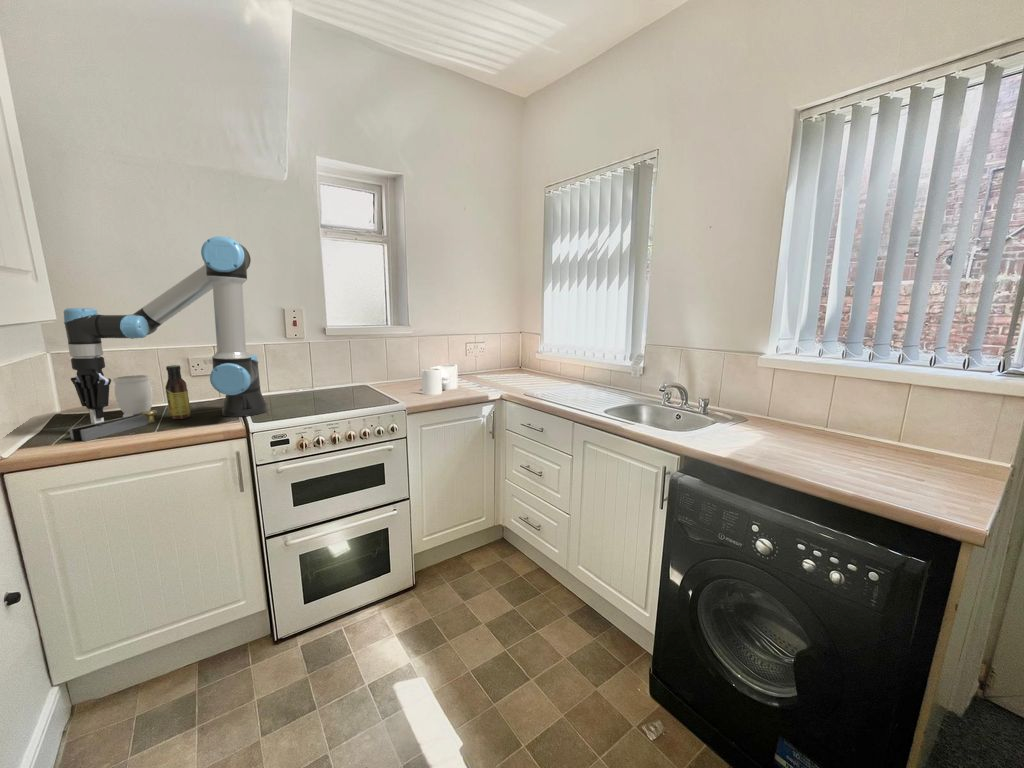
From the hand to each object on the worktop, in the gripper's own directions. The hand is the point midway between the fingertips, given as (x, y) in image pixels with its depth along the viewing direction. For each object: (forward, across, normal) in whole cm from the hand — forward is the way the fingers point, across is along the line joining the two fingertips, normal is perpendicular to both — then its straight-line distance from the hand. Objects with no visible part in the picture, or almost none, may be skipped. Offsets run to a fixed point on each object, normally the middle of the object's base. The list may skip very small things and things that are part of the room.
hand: (98, 427), depth 137 cm
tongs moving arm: (+2, -3, -4) cm, 5 cm away
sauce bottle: (+2, -9, -20) cm, 22 cm away
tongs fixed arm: (+2, -5, -3) cm, 6 cm away
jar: (+2, +9, -19) cm, 21 cm away
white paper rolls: (0, -87, -91) cm, 126 cm away
